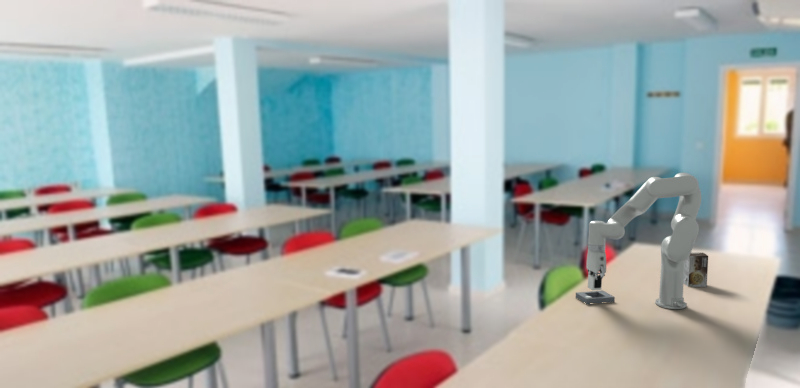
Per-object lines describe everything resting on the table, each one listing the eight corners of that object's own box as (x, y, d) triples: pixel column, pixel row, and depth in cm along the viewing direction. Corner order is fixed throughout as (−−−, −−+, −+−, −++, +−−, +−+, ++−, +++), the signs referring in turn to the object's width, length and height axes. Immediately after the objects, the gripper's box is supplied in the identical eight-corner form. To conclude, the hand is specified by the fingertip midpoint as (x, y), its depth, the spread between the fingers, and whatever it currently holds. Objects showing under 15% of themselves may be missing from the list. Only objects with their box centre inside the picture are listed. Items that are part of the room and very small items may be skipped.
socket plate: (614, 302, 261) (614, 295, 261) (586, 304, 259) (586, 298, 258) (602, 295, 271) (602, 289, 271) (575, 297, 268) (575, 291, 268)
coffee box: (701, 283, 288) (703, 252, 285) (707, 287, 281) (709, 255, 279) (682, 283, 289) (684, 252, 286) (687, 286, 282) (689, 255, 280)
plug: (601, 289, 262) (602, 272, 261) (592, 290, 262) (593, 273, 260) (596, 286, 267) (597, 270, 266) (587, 287, 266) (588, 270, 265)
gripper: (614, 251, 254) (612, 291, 257) (594, 243, 270) (592, 280, 273) (599, 252, 252) (597, 292, 255) (579, 244, 269) (578, 281, 271)
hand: (594, 285), depth 264 cm, fingers closed on plug, 4 cm apart
